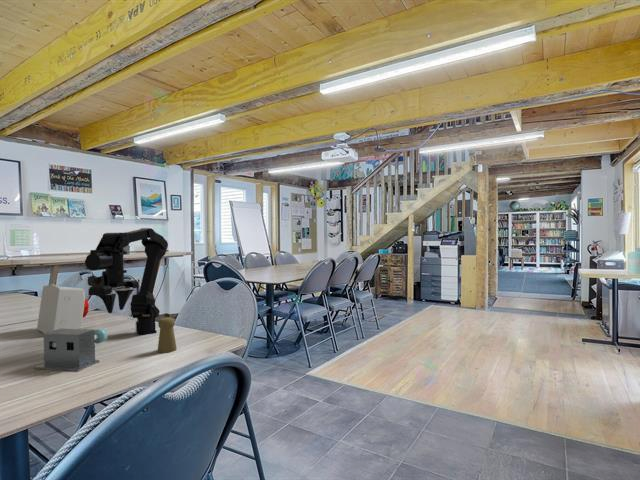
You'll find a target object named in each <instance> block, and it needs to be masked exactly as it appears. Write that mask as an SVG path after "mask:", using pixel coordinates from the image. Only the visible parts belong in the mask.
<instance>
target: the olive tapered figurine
mask: <svg viewBox="0 0 640 480" xmlns="http://www.w3.org/2000/svg"><path fill="white" fill-rule="evenodd" d="M157 324H158V328H159V334H158V335H159V336H158V342H157V353H159V354H167V353H168V354H169V353H172V352H176V351H177V344H176V337H175V331H174V330H175V329H174V326H175V324H176V322H175V319H174V317H172V316H171V317H170V316H166V317H161V318H160V319H159V320H158V323H157Z"/></svg>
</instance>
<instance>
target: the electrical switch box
mask: <svg viewBox="0 0 640 480" xmlns="http://www.w3.org/2000/svg"><path fill="white" fill-rule="evenodd" d="M89 308H90V307H89V302H88V299H86V295H85V290H84V288H79V287H72V286H71V287H70V286H57V285H56V284H53V283H51V284H48V285H46V284H45V285H43V286H42V291H41V299H40V305H39V312H38V319H37V320H38V321H37V326H36V329H37V330H38V331H40V332H41V334H42V333H43V334H44V333H47V332H51V331H54V330H58V329H80V327H81V325H82V324H83V319H85V317H86V316H88V314H89Z"/></svg>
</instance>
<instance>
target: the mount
mask: <svg viewBox="0 0 640 480" xmlns="http://www.w3.org/2000/svg"><path fill="white" fill-rule="evenodd" d="M94 330H95V329H92V328H91V329H87V328H86V329H85V328H79V329H58V330H54V331H51V332H47V333H43V361H44V362H43V363H40V364H39V365H36V366H33V369H34V370H44V371H45V370H47V371H50V370H51V371H66V372H80V371H82V370H83V371H84V369H87V368H89V367H91V366H94V365H95V364H98V363H100V359H96V347H95V346H96V345H95V344H96V343H95V336H94ZM53 342H56V347H55V348H54V347H53V346H52V343H53Z"/></svg>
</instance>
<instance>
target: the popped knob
mask: <svg viewBox="0 0 640 480" xmlns="http://www.w3.org/2000/svg"><path fill="white" fill-rule="evenodd" d="M93 330H94V336H95V344H100V343H103V342H105V341H107V339H108V332H107V330H106V329H104V328H101V327H100V328H98V329H93Z"/></svg>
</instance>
